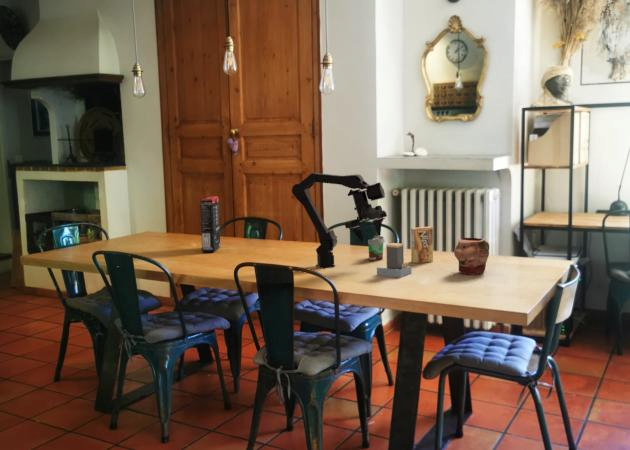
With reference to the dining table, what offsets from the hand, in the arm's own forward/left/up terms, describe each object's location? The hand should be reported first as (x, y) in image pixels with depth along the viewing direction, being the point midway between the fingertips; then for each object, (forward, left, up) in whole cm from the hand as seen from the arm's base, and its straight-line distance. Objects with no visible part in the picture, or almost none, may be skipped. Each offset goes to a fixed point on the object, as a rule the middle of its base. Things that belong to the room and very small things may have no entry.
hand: (371, 238), depth 283 cm
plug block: (+1, -17, -13) cm, 21 cm away
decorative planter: (+30, -31, -13) cm, 45 cm away
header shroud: (+1, -16, -13) cm, 20 cm away
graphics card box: (-45, +85, -13) cm, 97 cm away
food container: (+12, +14, -13) cm, 22 cm away
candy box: (+25, -2, -13) cm, 28 cm away
